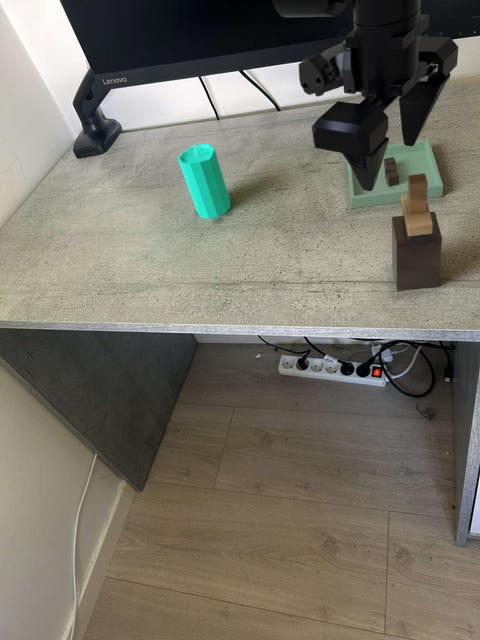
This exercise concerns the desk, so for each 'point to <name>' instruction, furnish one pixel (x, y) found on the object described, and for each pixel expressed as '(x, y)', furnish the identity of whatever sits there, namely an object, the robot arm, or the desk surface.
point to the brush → (417, 210)
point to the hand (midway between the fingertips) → (389, 166)
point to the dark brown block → (415, 257)
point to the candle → (205, 180)
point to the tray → (407, 164)
